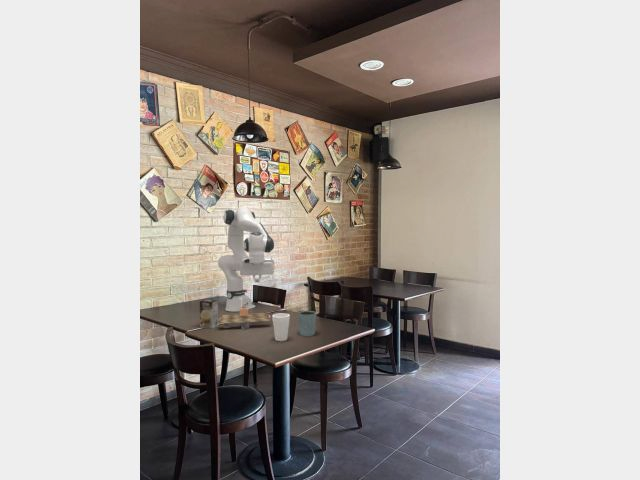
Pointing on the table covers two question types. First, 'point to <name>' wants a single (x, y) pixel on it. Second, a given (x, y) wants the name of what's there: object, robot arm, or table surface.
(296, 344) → the table surface
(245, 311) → the rider
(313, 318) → the teal cup
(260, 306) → the table surface
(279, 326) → the foam cup
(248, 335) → the table surface
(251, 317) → the beam
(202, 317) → the coffee box
